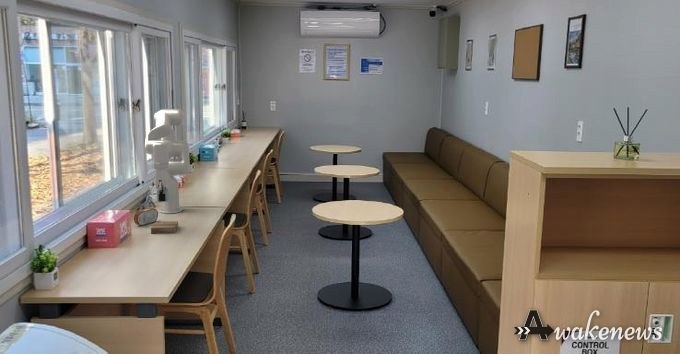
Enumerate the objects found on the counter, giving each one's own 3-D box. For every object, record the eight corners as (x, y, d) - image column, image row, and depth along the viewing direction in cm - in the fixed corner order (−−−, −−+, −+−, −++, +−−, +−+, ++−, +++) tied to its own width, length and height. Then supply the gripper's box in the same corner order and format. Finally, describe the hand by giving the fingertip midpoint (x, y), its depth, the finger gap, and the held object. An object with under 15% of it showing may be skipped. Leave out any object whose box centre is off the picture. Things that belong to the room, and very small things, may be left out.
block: (159, 199, 303) (158, 188, 302) (169, 199, 304) (168, 188, 303) (157, 202, 298) (156, 190, 297) (167, 201, 299) (166, 190, 298)
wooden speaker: (155, 220, 323) (154, 206, 322) (159, 221, 322) (158, 206, 320) (133, 226, 311) (132, 211, 309) (137, 227, 309) (136, 212, 308)
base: (155, 227, 309) (155, 222, 309) (178, 226, 311) (177, 221, 310) (151, 233, 298) (150, 228, 297) (174, 233, 299) (174, 227, 299)
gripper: (156, 163, 305) (158, 196, 309) (150, 168, 289) (152, 203, 292) (171, 163, 306) (173, 196, 310) (165, 168, 290) (167, 203, 293)
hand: (163, 199), depth 301 cm, fingers closed on block, 5 cm apart
